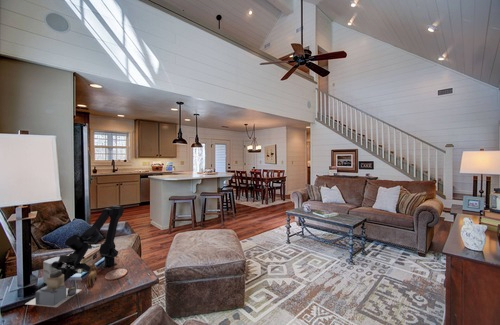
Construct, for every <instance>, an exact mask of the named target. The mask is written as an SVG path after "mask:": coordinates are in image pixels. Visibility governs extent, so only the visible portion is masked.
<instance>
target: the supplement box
mask: <svg viewBox="0 0 500 325" xmlns="http://www.w3.org/2000/svg"><path fill="white" fill-rule="evenodd" d="M59 258H60V256H55V257H52V258H49V259H48V258H47V259H46V260H43V265H42V266H43V267H42V269H43V270H42V271H43V272H42V275H43V276H42V280H44V284H46V285H47V277H49V276H50V274H51V273H53V272H56V271H61V270H57V269H55V268H53V267H51V265H52V263H53V262H55V261H59ZM63 263H64V262H63Z"/></svg>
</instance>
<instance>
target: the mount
mask: <svg viewBox="0 0 500 325" xmlns="http://www.w3.org/2000/svg"><path fill="white" fill-rule="evenodd" d="M68 289H70V288H67V285H64V286H61V287H60V288H58V289H56V290H55V291H54V289H47V285H45V286H44V287H41V288H40V289H38V290H36V291H35V297H34V298H32V299H30V300H29V301H28V302H26V303H25V305H29V306H38V307H49V308H58V307H59V306H61V305H62V304H64V303H66V301H68V300H70V299H71V298H72V297H74V296H75V295H77V294H78V293H80V292H81V291H82V289H81V288H80V289H77V288H76V294H75V295H73V296H68V295H67V292H68Z"/></svg>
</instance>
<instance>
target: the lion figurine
mask: <svg viewBox="0 0 500 325" xmlns="http://www.w3.org/2000/svg"><path fill="white" fill-rule="evenodd" d="M88 265H89V266H90V270H89V272H88V276H87V277H86V287H87V288H89V287H92V284H95V279H97V275H98V274H97V272H98V268H97V265H96V264H95V263H90V264H88ZM91 281H92V284H91Z"/></svg>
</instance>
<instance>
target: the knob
mask: <svg viewBox="0 0 500 325" xmlns="http://www.w3.org/2000/svg"><path fill="white" fill-rule="evenodd" d="M46 286H47V289H54V291H55V290H56V289H58V288H60V287H61V286H65V282H64V274H62V272H61V271H56V272H53V273H51V274H50V276H49V277H47V284H46Z"/></svg>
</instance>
